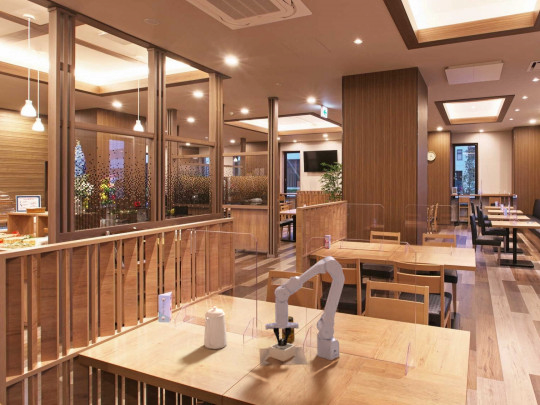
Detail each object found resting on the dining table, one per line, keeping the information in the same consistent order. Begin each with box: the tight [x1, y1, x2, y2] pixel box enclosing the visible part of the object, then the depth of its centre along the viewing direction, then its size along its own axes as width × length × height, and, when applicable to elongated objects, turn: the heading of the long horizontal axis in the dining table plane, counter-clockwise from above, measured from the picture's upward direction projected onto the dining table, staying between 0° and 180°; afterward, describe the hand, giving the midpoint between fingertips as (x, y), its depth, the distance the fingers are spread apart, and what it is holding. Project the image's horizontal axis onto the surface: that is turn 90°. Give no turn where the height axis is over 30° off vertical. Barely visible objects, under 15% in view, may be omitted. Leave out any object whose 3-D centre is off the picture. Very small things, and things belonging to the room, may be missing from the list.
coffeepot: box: [203, 305, 228, 350], centre depth 197 cm, size 11×25×19 cm, turn 168°
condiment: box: [281, 315, 296, 344], centre depth 201 cm, size 7×8×12 cm
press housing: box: [268, 342, 296, 361], centre depth 182 cm, size 8×8×4 cm
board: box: [259, 346, 308, 367], centre depth 183 cm, size 20×18×1 cm
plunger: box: [277, 338, 287, 350], centre depth 182 cm, size 6×6×7 cm
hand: (282, 344), depth 182 cm, fingers closed on plunger, 2 cm apart
